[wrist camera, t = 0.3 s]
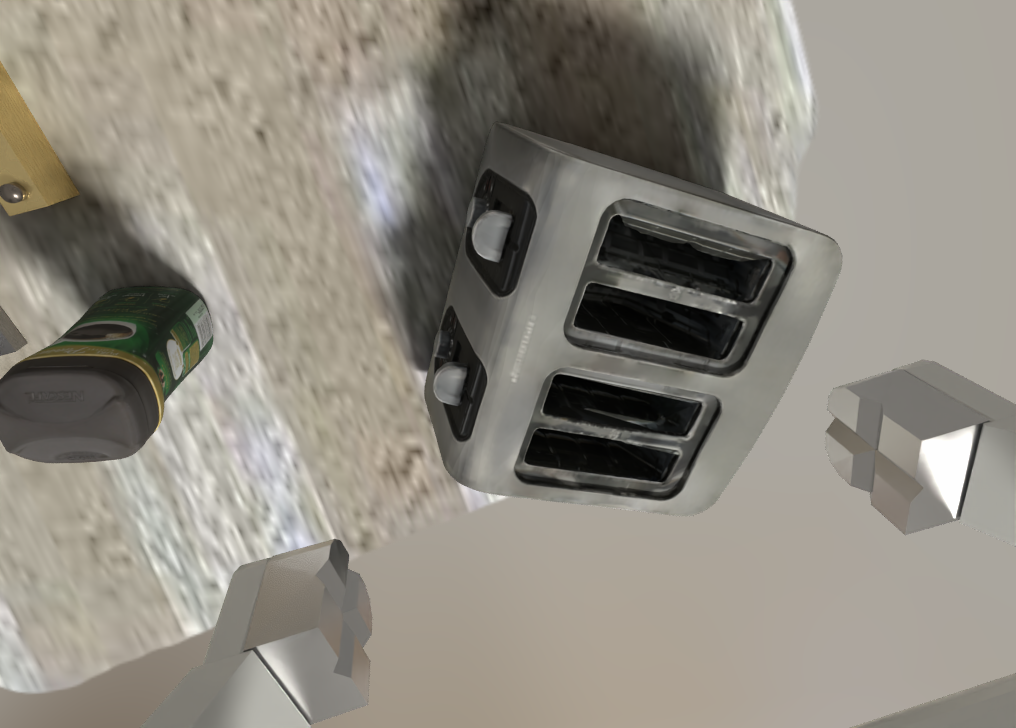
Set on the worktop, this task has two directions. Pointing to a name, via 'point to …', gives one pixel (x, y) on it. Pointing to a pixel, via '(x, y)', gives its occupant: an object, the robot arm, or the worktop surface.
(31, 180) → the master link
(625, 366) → the toaster
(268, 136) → the worktop surface
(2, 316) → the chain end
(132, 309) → the coffee jar
